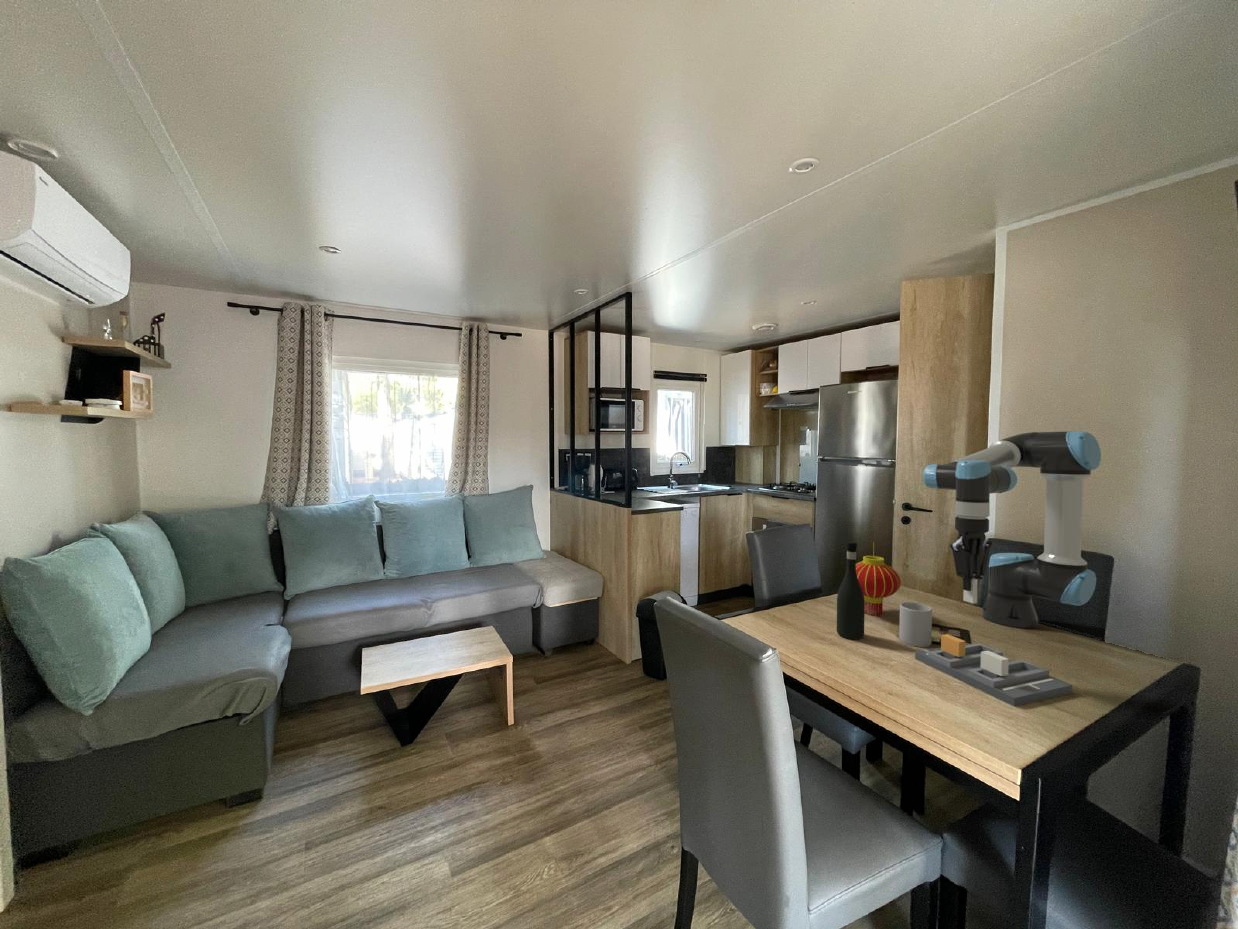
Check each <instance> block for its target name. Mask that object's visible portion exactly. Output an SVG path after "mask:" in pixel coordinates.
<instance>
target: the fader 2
mask: <svg viewBox="0 0 1238 929" xmlns="http://www.w3.org/2000/svg"><path fill="white" fill-rule="evenodd" d="M1009 660H1010V659H1009V658H1007V657H1005V656H1004V655H1003V656H1000V655H998V654H995V653H993V652H990V651H983V652H981V668H984V669H983V675H985V676H987V677H990V678H992V679H993V678H998V677H1003V676H1005V675H1008V666H1009Z"/></svg>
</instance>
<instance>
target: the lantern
mask: <svg viewBox="0 0 1238 929" xmlns="http://www.w3.org/2000/svg"><path fill="white" fill-rule="evenodd" d="M872 544H873V549H872V550H873V555H865V556H863V557H862V559H863V560H862V561H859V562H856V574H857V578H858V581H859V583H860V586H861V588H862V591H863V594H864V600H865V614H866V615H868V616H875V617H879V614H883V604H884V602H883V600H884V598H888V597H891V596H893V595H895V594H896V593H897V592H898V591H899V590H900V588H901V584H902V582H901V576H900V575H899V573H898V572H897V570H895V569H894V568H893V567H891V565H888V564H886V563H885V559H884V557H881V556H875V543H872Z"/></svg>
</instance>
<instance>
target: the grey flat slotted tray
mask: <svg viewBox="0 0 1238 929" xmlns="http://www.w3.org/2000/svg"><path fill="white" fill-rule="evenodd" d="M983 651H990V652H993V653H995V654H998V655H1000V656H1003V657H1004V651H1002V650H998V649H996V648H993V647H990V646H988V645H985V644H983V643H981V642H979V643H972V644H971V643H968V642H966V643H965V656H963V657H960V658H954V659H947V658H945V657H943V650H941V646H940V647H935V648H929V649H923V650H918V651H915V652H914V659H915V660H917V661H919V662H921V663H924V664H925V665H927V666H929V667H931V668H933V669H935V670H938V671H940V672H941V673H944V674H946V675H947V676H950V677H952V678H954V679H956V680H958V681H960V682H962V683H964V684H966V685H969V686H971V687H973V688H974V689H977V690H979V691H981V692H983V693H985V694H987V695H989V696H991V697H994V698H995V699H998V700H1000V701H1002V702H1004V703H1006V704H1008V705H1010V706H1013V707H1017V706H1022V705H1026V704H1031V703H1034V702H1038V701H1039V702H1040V701H1043V700H1048V699H1052V698H1056V697H1060V696H1066V695H1069V694H1072V693H1073V684H1071V683H1069V682H1066V681H1063V680H1062V679H1059V678H1056V677H1054V676H1052V675H1050V669H1047V668H1045V667H1042V666H1039V665H1037V664H1034V663H1032V662H1029V661H1026V660H1025V659H1017V660H1011V659H1009V666H1008V675H1005V676H1003V677H998V678H993V679H992V678H990V677H987V676H985V675H983V669H984V668H981V652H983Z"/></svg>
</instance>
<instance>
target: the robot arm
mask: <svg viewBox="0 0 1238 929" xmlns="http://www.w3.org/2000/svg"><path fill="white" fill-rule="evenodd" d="M1101 461H1102V454H1101V448H1100V444H1099V442H1098V440H1097V439H1096V437H1095V436H1094V435H1093V434H1092V433H1090V432H1088V431H1075V430H1074V431H1073V430H1069V431H1042V432H1041V431H1039V432H1038V431H1032V432H1031V431H1030V432H1025V433H1019V434H1016V435H1015V434H1014V435H1013V436H1012V435H1011V436H1009V437H1005V438H1003V439H1000V440H997V441H995V442H992V443H991V444H990V445H989V446H988V447H987V448H985V449H983V450H979V451H977V452H974V453H972V454H968V455H966V456H963V457H961V458H958V459H956V460H953V461H949V462H948V463H945V464H939V463H936V464H929V465H927V466H925V468H924V469H923V472H922V481H923V484H924V485H925V486H926V487H927V488H929V489H937V490H948V491H950V490H952V491H955V515H956V516H955V517H954V529H955V530H956V531H957V532H958V534H957V537H956V539H957V540H956V541H955V542H950V543H949V547H950V548H951V551H952V555H953V561H954V568H955V574H956V576H957V577H959V578H962V589H963V595H962V596H963V600H962V601H964V602H967V603H970V604H977V603H978V589H979V580H983V577H984V576H985V575H986V570H987V565H988V594H987V597H986V599H985V601H984V604H983V606H982V608H981V617H982V618H984V619H985V620H987V621H990V622H992V623H996V624H998V625H1002V626H1007V627H1012V628H1021V629H1033V628H1037V627H1038V626H1039V617H1038V614H1037V612H1036V609H1035V606H1034V604H1033V597H1037V598H1040V599H1043V600H1044V599H1045V600H1049V601H1054V602H1058V603H1061V604H1066V605H1072V606H1078V607H1079V606H1083V605H1085V604H1086V603H1088V602H1089V601H1090V599H1091V598H1092V596H1093V594H1094V593H1095V589H1096V585H1097V577H1096V576H1097V575H1096V573H1095V571H1093V570H1091V569H1089V568H1088V562H1087V561H1086V560H1085V559H1084V558H1083V557H1082V535H1083V534H1082V530H1083V529H1082V528H1083V502H1084V500H1083V499H1084V498H1083V497H1084V481H1085V480H1086V479H1088V477H1090V476H1091V471H1093V470H1096V469H1098V468H1099V466H1100V465H1101ZM1015 467H1016V468H1038V469H1040V470H1039V471H1040V472H1039V474H1040V475H1041V476H1042V477H1044V479H1045V482H1046V483H1045V505H1044V507H1045V510H1044V538H1043V539H1044V541H1043V544H1044V545H1043V552H1042V554H1040V555H1038V556H1037V559H1036V560H1035V558H1034V557H1035V556H1034V555H1033V554H1029V553H1021V552H998V553H994V554H991V556H990V557H989V554H990V550H991V548H992V546H993V541H992V540H988V539H986V538H987V537H986V534H987V533H988V532H990V519H989V516H990V510H991V509H990V504H991V502H990V494H1003V493H1006V492H1009V491H1011V490H1013V489H1014V488H1015V487H1016V485H1017V483H1018V476H1017V473H1016V472H1015V471H1014V470H1013V469H1012V468H1015ZM988 559H989V560H988ZM988 561H989V563H988Z"/></svg>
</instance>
